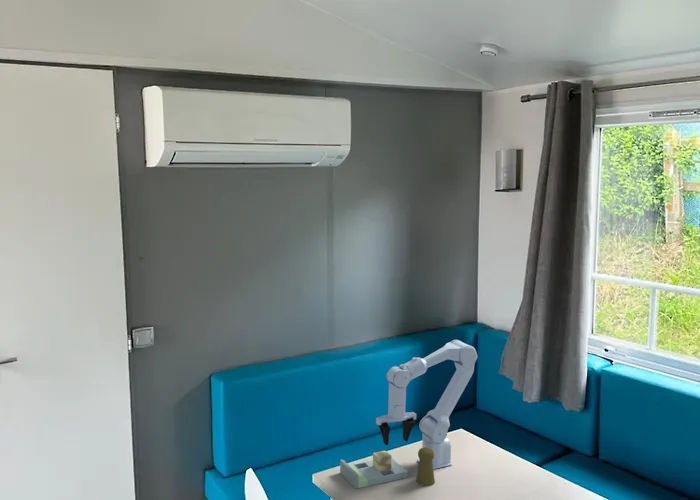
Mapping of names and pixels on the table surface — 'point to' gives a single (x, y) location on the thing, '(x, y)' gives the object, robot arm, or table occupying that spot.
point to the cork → (425, 467)
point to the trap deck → (370, 473)
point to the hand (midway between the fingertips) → (395, 442)
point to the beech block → (382, 460)
